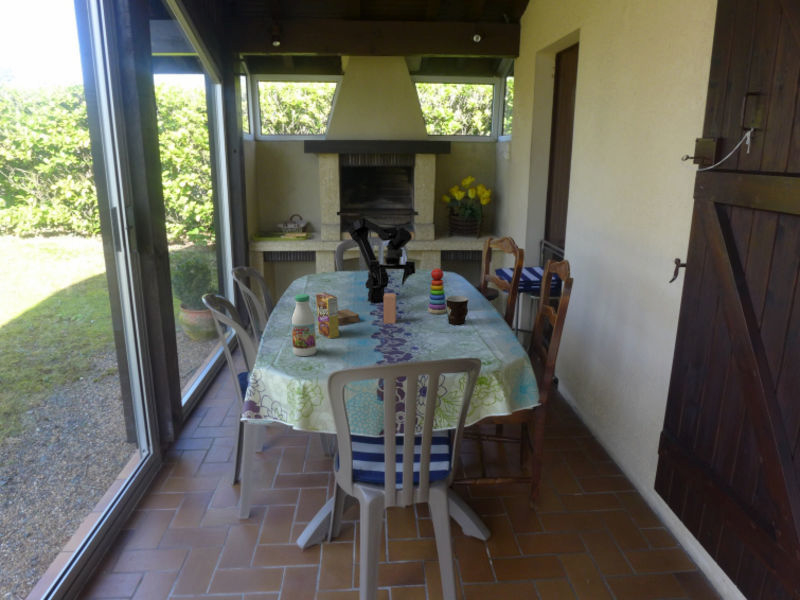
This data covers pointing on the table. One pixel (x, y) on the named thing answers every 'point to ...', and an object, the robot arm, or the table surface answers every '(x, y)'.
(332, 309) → the candy box
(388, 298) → the terracotta block
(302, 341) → the milk bottle
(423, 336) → the table surface
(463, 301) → the coffee mug
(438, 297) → the stacking toy
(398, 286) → the table surface
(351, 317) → the walnut plinth
